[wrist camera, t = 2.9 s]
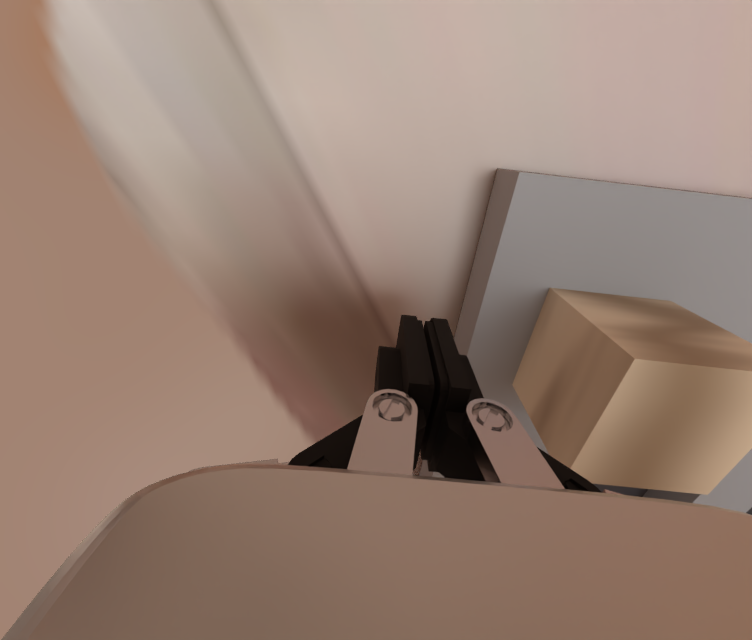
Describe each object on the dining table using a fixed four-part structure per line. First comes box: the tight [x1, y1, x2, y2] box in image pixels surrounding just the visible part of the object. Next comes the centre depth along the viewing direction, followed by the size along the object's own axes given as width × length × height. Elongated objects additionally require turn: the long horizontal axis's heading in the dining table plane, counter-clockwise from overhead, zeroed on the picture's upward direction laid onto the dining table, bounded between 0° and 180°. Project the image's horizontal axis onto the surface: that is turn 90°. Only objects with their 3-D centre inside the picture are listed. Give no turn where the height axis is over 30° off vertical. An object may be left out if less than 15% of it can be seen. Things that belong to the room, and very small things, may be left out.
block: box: [512, 288, 752, 495], centre depth 12 cm, size 5×5×5 cm
